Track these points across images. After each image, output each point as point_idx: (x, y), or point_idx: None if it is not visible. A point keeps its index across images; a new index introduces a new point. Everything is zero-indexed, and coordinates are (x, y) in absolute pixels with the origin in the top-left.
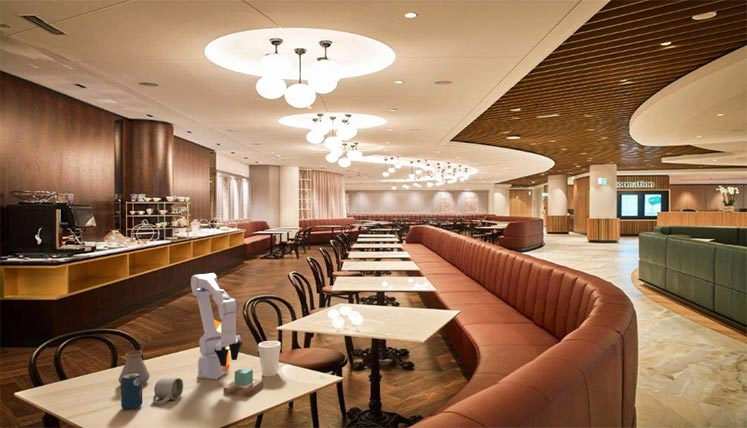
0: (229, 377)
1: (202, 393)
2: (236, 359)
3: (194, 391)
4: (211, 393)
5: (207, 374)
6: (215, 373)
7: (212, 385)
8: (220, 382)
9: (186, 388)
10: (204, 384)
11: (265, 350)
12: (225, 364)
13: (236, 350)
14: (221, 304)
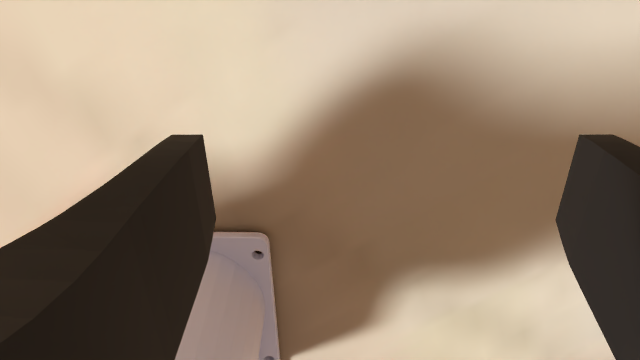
0: None
1: None
2: (179, 138)
3: None
4: (612, 78)
5: (261, 328)
6: (226, 284)
7: (401, 185)
8: (308, 160)
9: (508, 322)
10: (396, 255)
11: None
12: (633, 146)
13: (118, 276)
14: None
